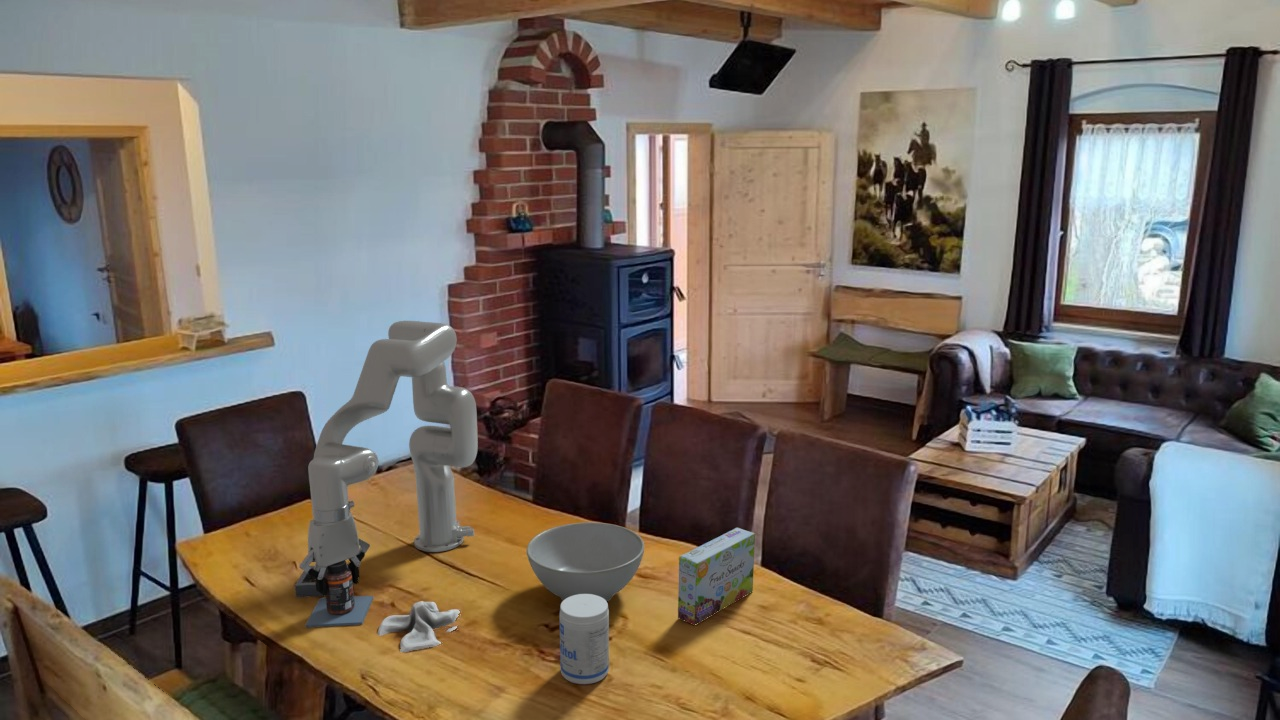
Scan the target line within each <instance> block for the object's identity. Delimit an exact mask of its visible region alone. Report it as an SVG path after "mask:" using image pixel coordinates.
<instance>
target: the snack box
mask: <svg viewBox="0 0 1280 720" xmlns="http://www.w3.org/2000/svg"><path fill="white" fill-rule="evenodd" d="M755 540H756V533H755V532H752V531H749V530H745V529H743V528H740V527H735V528H733V529H732V530H729V531H727V532H726V533H723V534H722V535H720V536H718V537H715V538H713V539H712V540H710V541H708V542H705V543H703V544H702V545H699V546H698V547H696V548H693V549H692V550H689V551H688V552H685V553H684V554H681V555H680V556H678V591H677V593H678V594H677V595H678V596H677V597H678V598H677V599H678V600H677V602H678V603H677V619H679V618H680V619H679V620H681V619H682V620H681V621H683V620H685V621H684V622H686V621H687V622H689V623H692V624H694V625H695V624H697V623H699V622H701V621H702V620H704V619H706V618H707V617H709V616H711V615H713V614H714V613H716V612H717V611H719V610H721V609H723V608H724V607H726V606H728V605H729V604H731V605H733V604H734V603H733V602H735V601H737V600H738V599H740V598H742V597H743V596H745V595H747V594H748V595H750V594H751V593H750V592H752V591H754V565H755V543H756V541H755ZM749 593H750V594H749ZM752 593H753V592H752ZM748 595H747V596H748ZM745 597H746V596H745ZM743 598H744V597H743ZM743 598H742V599H743ZM740 600H741V599H740ZM738 601H739V600H738ZM738 601H737V602H738ZM732 603H733V604H732ZM735 603H736V602H735ZM728 607H729V606H728ZM726 608H727V607H726ZM723 610H724V609H723ZM721 611H722V610H721ZM719 612H720V611H719ZM716 614H717V613H716ZM714 615H715V614H714ZM714 615H713V616H714ZM711 617H712V616H711ZM709 618H710V617H709ZM706 620H707V619H706ZM704 621H705V620H704ZM687 622H686V623H687ZM689 623H688V624H689ZM701 623H702V622H701ZM699 624H700V623H699Z"/></svg>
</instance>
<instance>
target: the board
mask: <svg viewBox="0 0 1280 720" xmlns="http://www.w3.org/2000/svg"><path fill="white" fill-rule="evenodd" d="M373 600H374V595H360V596H359V595H357V596H356V595H354V601H355V603H354V604H355V606H354V608H353V609H352V610H351V611H350V612H348V613H344V614H337V615H335V614H331V613H329V612H328V611H327V605H326V597H320V598H319V600H318V601H317V603H316V605H315V606H314V609H313V610H312V612H311V614H310V615H309V617H308V619H307V620H306V621H307V622H306V623H305V624H304V626H305V628H319V627H320V628H321V627H323V628H324V627H341V626H343V627H344V626H345V627H346V626H361V625H363V623H364V621H365V619H366V617H367V615H368V612H369V610H370V607H371V606H372V603H373Z"/></svg>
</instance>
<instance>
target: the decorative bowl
mask: <svg viewBox="0 0 1280 720" xmlns="http://www.w3.org/2000/svg"><path fill="white" fill-rule="evenodd" d="M644 554H645V542H644V539H643V538H642V537H641V536H640V535H639V534H638V533H636V532H635V531H633V530H631V529H629V528H627V527H624V526H620V525H617V524H612V523H604V522H594V521H593V522H592V521H591V522H590V521H589V522H586V521H585V522H575V523H573V522H572V523H569V524H562V525H560V526H554V527H552V528H549V529H546V530H544V531H541V532H539V533H538V534H536V535H535V536H534V537H533V538H532V539H531V540H530V541H529V542H528V545H526V555H527V556H526V557H527V560H528V562H529V565H530V567H531V569H532V571H533V573H534V575H535V576H536V578H537V579H538V580H539V582H540V583H541V584H542V585H543V586H544V587H545V588H546V589H547V590H548V591H549V592H550V593H552V594H554V595H555V596H557V597H560V598H561V601H562V602H563V601H564V600H565V599H566V598H568V597H570V596H573V595H578V594H593V595H597V596H600V597H602V598H603V599H605V600H606V601H608V600H609V601H611V600H612V598H613V597H612V596H614V595H616V594H618V593H619V592H620V591H622V590H623V589H624V588H625V587H626V586H627V585H628V584H629V583H630V582H631V580H632V579H633V578H634V576H635V574H636V573H637V571H638V569H639V567H640V565H641V563H642V559H643V556H644ZM611 597H612V598H611ZM609 601H608V602H609Z"/></svg>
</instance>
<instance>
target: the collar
mask: <svg viewBox="0 0 1280 720" xmlns="http://www.w3.org/2000/svg"><path fill="white" fill-rule="evenodd" d="M348 564H349V563H346V565H347V568H348ZM309 567H310V568H312V569H314V567H315V565H309ZM327 571H328V569H327V567H326V570H325V573H326V572H327ZM325 573H324V574H325ZM323 577H324V576H323ZM312 580H315V577H313V576H311V575H310V574H308V573H307V572H305V571H304V570H302V572H301V575H300V577H299V578H298V580H297V581H296V583H295V584H294V591H295V592H294V593H295V599H297V598H311V597H312V598H313V597H314V598H316V597H326V595H325V596H323V595H322V594H321V593H319V592H318V591H317V590H316V583H315V581H314V582H311V581H312Z"/></svg>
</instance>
